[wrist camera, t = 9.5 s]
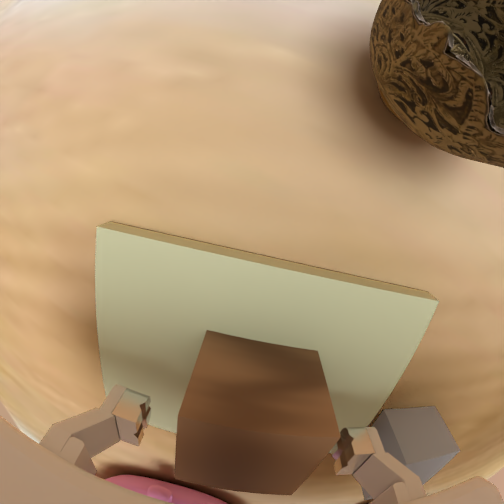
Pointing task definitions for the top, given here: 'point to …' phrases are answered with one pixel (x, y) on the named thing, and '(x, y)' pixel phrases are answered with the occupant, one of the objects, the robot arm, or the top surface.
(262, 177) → the top surface
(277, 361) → the walnut block
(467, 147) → the dark brown round piece
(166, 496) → the teapot
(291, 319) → the base plate
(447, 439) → the slate block
